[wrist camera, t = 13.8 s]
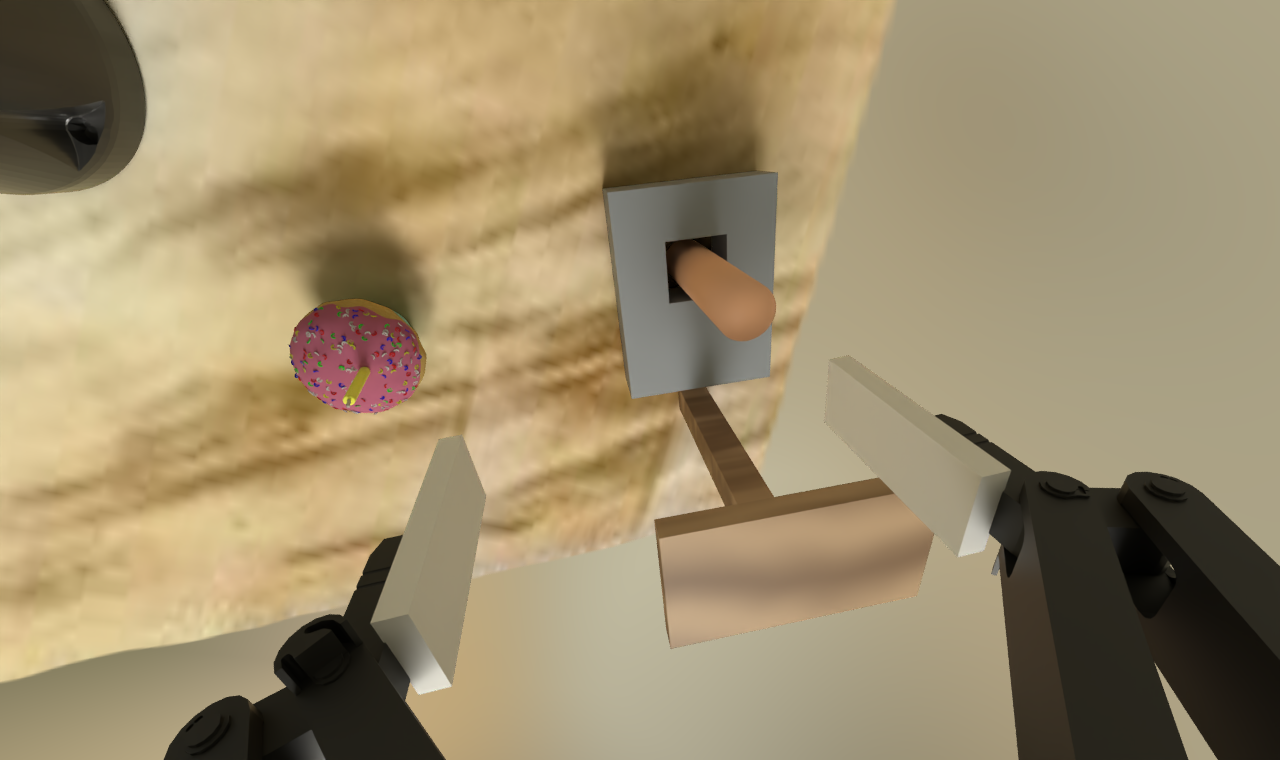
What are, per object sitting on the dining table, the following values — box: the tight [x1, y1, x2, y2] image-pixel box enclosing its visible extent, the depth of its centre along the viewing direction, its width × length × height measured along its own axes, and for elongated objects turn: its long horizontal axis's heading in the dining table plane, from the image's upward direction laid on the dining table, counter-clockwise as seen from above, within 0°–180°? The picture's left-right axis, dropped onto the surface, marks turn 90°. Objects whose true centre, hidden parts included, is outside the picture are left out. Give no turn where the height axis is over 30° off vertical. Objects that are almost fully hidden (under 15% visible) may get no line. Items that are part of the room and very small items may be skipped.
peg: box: [666, 239, 776, 341], centre depth 31 cm, size 3×3×14 cm
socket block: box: [603, 171, 778, 399], centre depth 36 cm, size 16×12×4 cm
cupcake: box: [289, 299, 426, 415], centre depth 31 cm, size 9×8×12 cm
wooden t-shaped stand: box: [654, 387, 934, 649], centre depth 33 cm, size 8×14×22 cm, turn 95°
